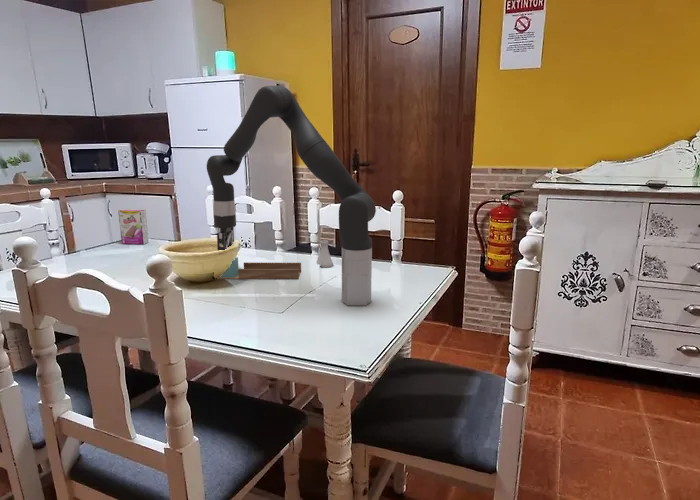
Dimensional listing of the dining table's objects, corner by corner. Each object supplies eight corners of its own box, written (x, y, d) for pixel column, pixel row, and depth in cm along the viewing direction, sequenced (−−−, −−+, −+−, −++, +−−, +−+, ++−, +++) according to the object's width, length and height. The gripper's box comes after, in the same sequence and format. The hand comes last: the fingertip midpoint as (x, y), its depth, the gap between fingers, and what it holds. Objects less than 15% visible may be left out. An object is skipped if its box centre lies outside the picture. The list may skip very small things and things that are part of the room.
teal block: (235, 277, 170) (234, 260, 169) (213, 277, 170) (212, 260, 169) (238, 273, 175) (237, 257, 174) (216, 273, 175) (215, 257, 174)
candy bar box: (121, 244, 226) (117, 210, 222) (126, 242, 231) (123, 208, 227) (143, 245, 225) (140, 210, 221) (149, 242, 230) (145, 208, 226)
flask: (334, 263, 194) (334, 239, 192) (332, 268, 187) (332, 243, 185) (317, 263, 195) (316, 239, 192) (313, 267, 188) (313, 242, 185)
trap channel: (298, 282, 168) (298, 269, 167) (210, 282, 168) (209, 269, 167) (301, 274, 178) (301, 262, 177) (217, 274, 178) (216, 262, 177)
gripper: (219, 210, 174) (221, 253, 178) (208, 216, 160) (210, 263, 164) (239, 210, 174) (241, 253, 178) (230, 216, 161) (232, 263, 164)
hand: (226, 258), depth 171 cm, fingers open, 8 cm apart
